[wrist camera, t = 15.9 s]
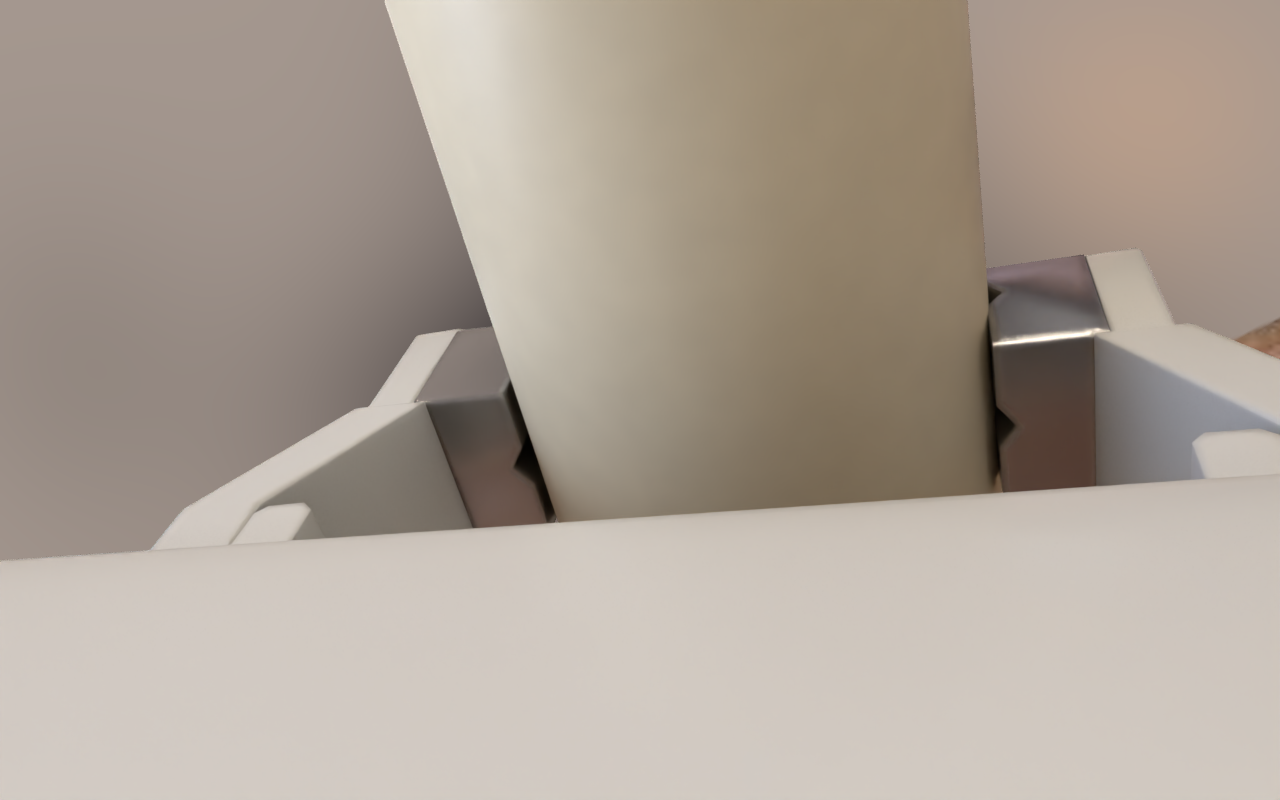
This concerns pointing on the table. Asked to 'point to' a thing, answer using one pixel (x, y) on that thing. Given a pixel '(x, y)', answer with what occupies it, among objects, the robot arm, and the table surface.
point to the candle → (722, 242)
